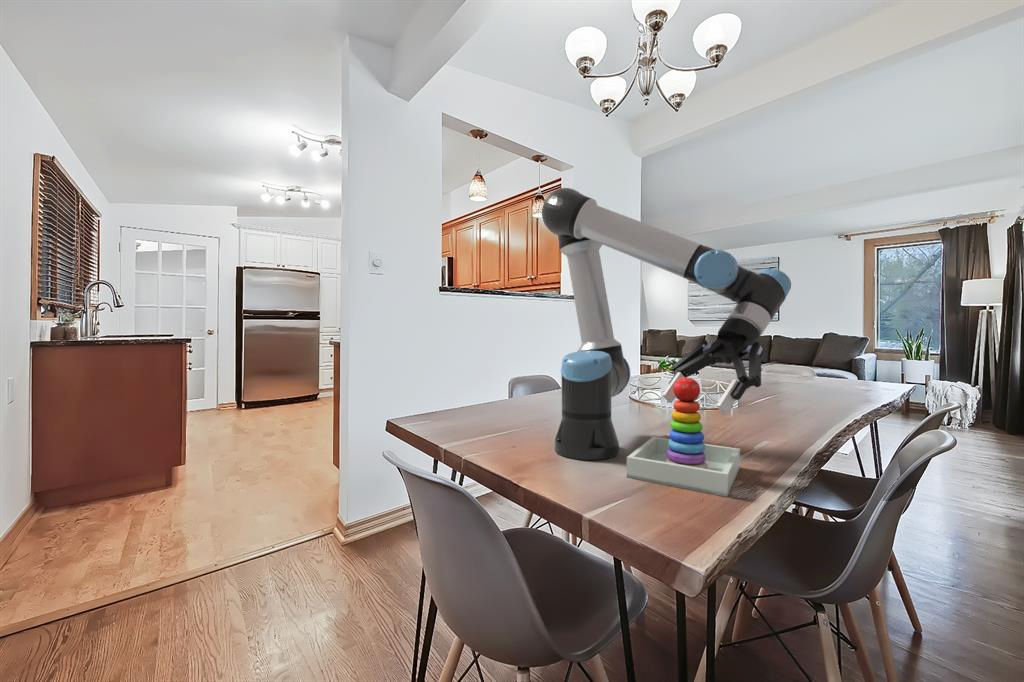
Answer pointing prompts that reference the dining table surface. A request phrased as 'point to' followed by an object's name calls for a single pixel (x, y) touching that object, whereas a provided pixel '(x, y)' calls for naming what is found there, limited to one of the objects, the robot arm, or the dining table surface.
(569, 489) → the dining table surface
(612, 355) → the robot arm
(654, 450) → the tray
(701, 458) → the stacking toy
